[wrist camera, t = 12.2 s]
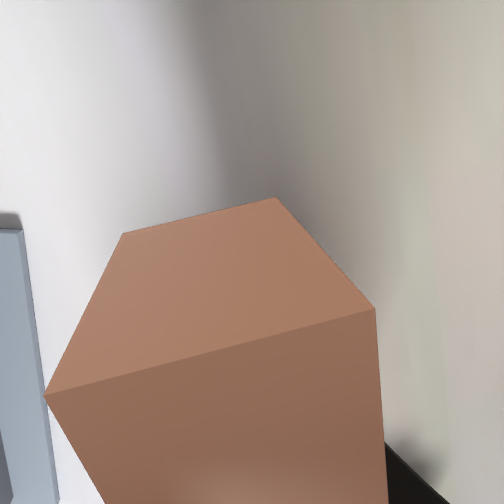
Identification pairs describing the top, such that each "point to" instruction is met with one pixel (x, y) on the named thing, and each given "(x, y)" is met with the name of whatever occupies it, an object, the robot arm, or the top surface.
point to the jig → (22, 386)
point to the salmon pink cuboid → (225, 369)
